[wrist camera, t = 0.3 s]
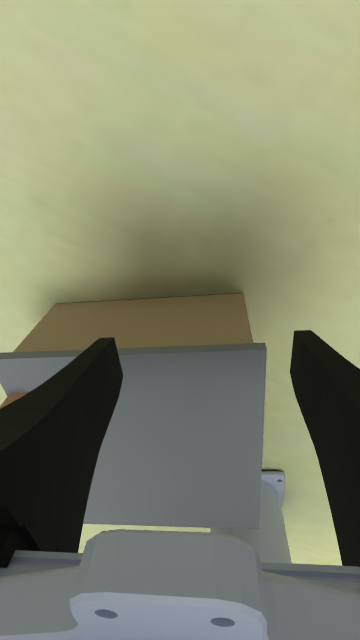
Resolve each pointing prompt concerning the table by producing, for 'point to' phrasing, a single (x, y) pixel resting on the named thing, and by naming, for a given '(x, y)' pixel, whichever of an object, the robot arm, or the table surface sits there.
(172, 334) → the box
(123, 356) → the sliding lid
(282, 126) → the table surface
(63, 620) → the robot arm
